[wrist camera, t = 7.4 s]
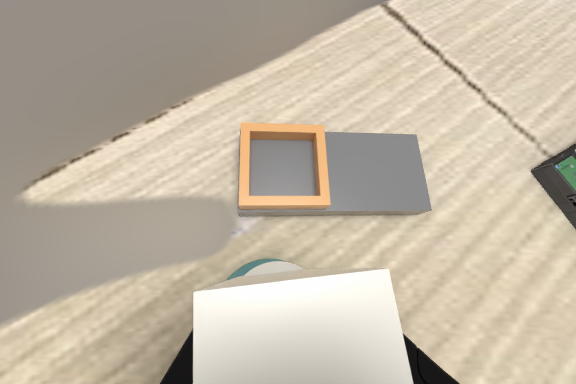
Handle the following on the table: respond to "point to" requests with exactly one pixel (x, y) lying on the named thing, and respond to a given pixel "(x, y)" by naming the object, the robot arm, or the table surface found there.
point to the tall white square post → (299, 328)
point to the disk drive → (560, 181)
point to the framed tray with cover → (328, 172)
